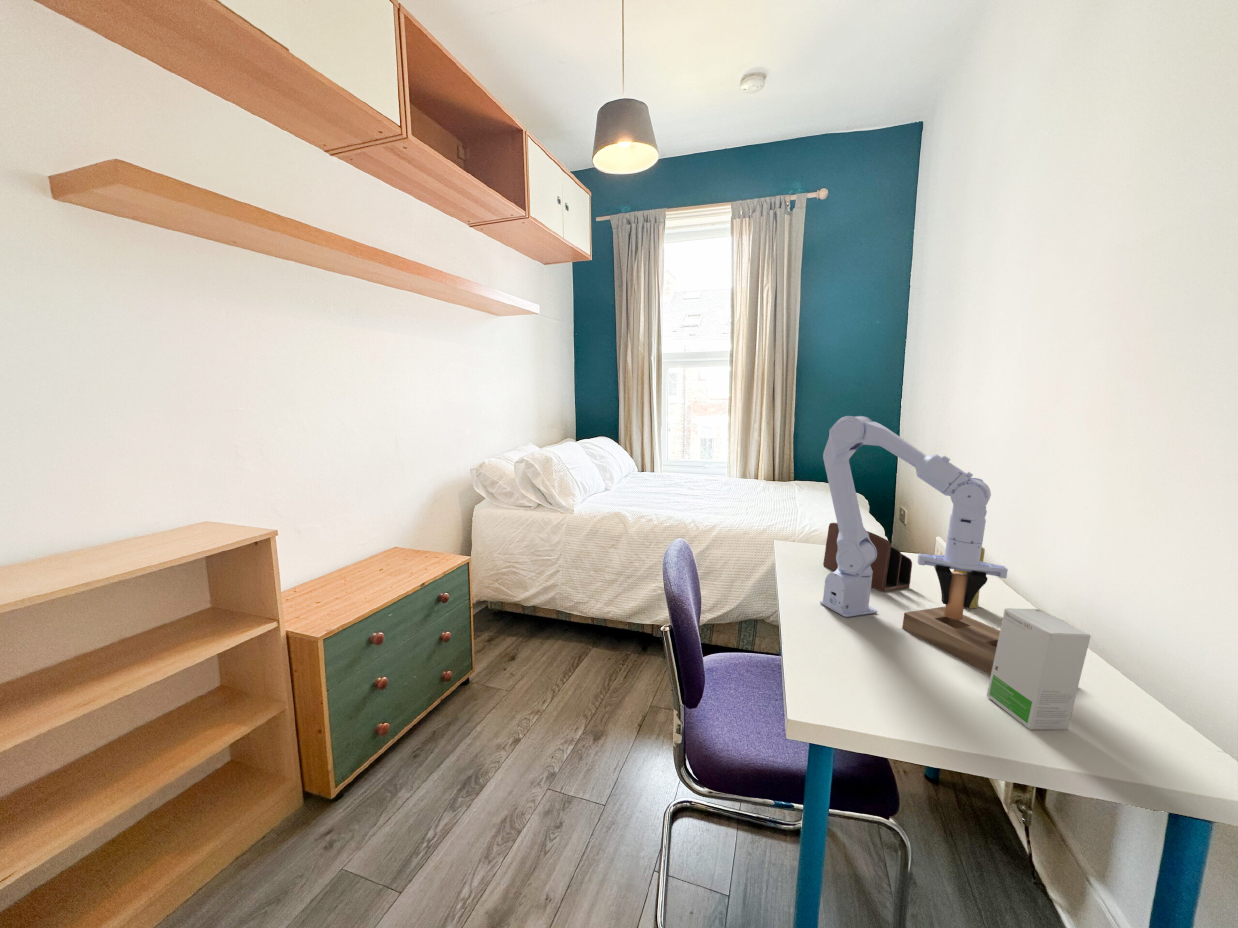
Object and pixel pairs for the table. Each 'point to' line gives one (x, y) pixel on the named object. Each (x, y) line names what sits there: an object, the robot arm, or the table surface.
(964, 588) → the peg
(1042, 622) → the skincare box
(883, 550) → the letter holder
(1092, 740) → the table surface
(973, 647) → the hole block
